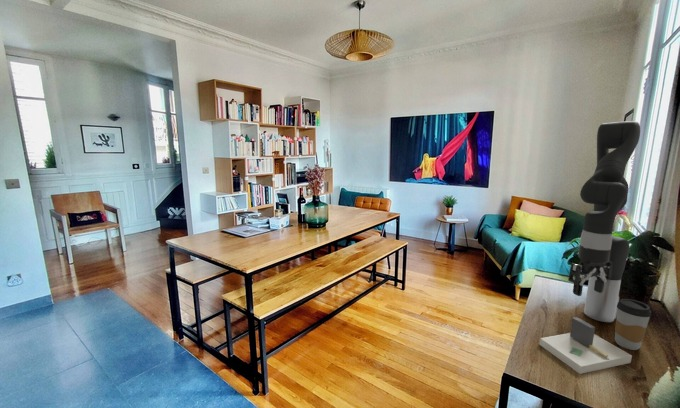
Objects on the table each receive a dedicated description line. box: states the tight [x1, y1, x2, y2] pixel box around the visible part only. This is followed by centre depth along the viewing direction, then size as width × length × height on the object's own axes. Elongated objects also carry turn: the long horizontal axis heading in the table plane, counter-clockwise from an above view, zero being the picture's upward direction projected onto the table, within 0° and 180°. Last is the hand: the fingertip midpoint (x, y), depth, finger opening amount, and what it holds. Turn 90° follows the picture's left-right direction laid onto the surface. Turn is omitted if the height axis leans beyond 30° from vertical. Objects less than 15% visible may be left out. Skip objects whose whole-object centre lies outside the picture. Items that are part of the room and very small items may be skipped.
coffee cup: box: [614, 298, 652, 351], centre depth 102 cm, size 8×8×15 cm
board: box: [539, 332, 633, 375], centre depth 99 cm, size 20×14×3 cm
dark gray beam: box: [569, 316, 608, 357], centre depth 98 cm, size 2×11×7 cm, turn 13°
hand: (587, 293), depth 98 cm, fingers open, 8 cm apart
